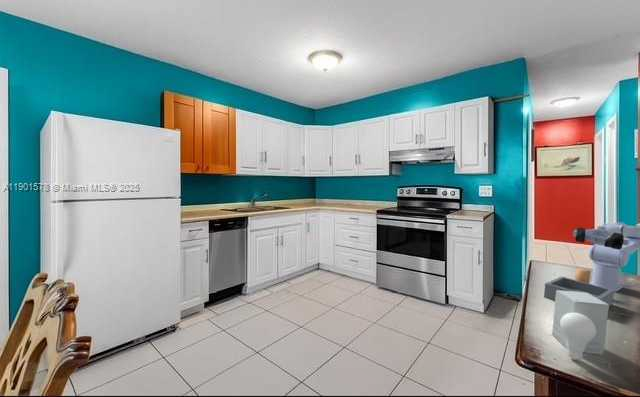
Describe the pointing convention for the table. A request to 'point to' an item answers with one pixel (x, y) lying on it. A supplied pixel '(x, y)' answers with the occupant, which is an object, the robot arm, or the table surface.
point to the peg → (582, 275)
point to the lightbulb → (577, 333)
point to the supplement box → (586, 307)
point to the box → (577, 289)
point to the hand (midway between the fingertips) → (591, 241)
